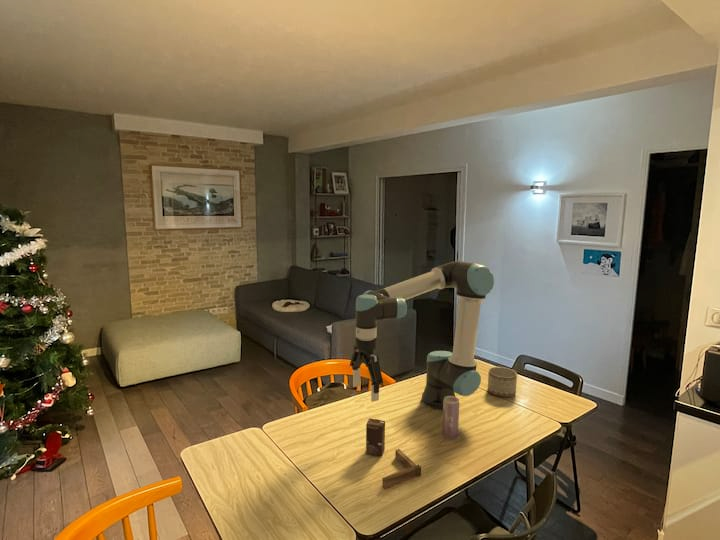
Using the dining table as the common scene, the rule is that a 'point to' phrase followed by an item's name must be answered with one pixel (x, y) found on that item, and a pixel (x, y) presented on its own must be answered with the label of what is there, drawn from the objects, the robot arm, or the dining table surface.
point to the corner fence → (405, 475)
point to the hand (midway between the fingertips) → (365, 393)
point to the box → (375, 437)
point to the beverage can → (450, 417)
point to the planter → (502, 381)
